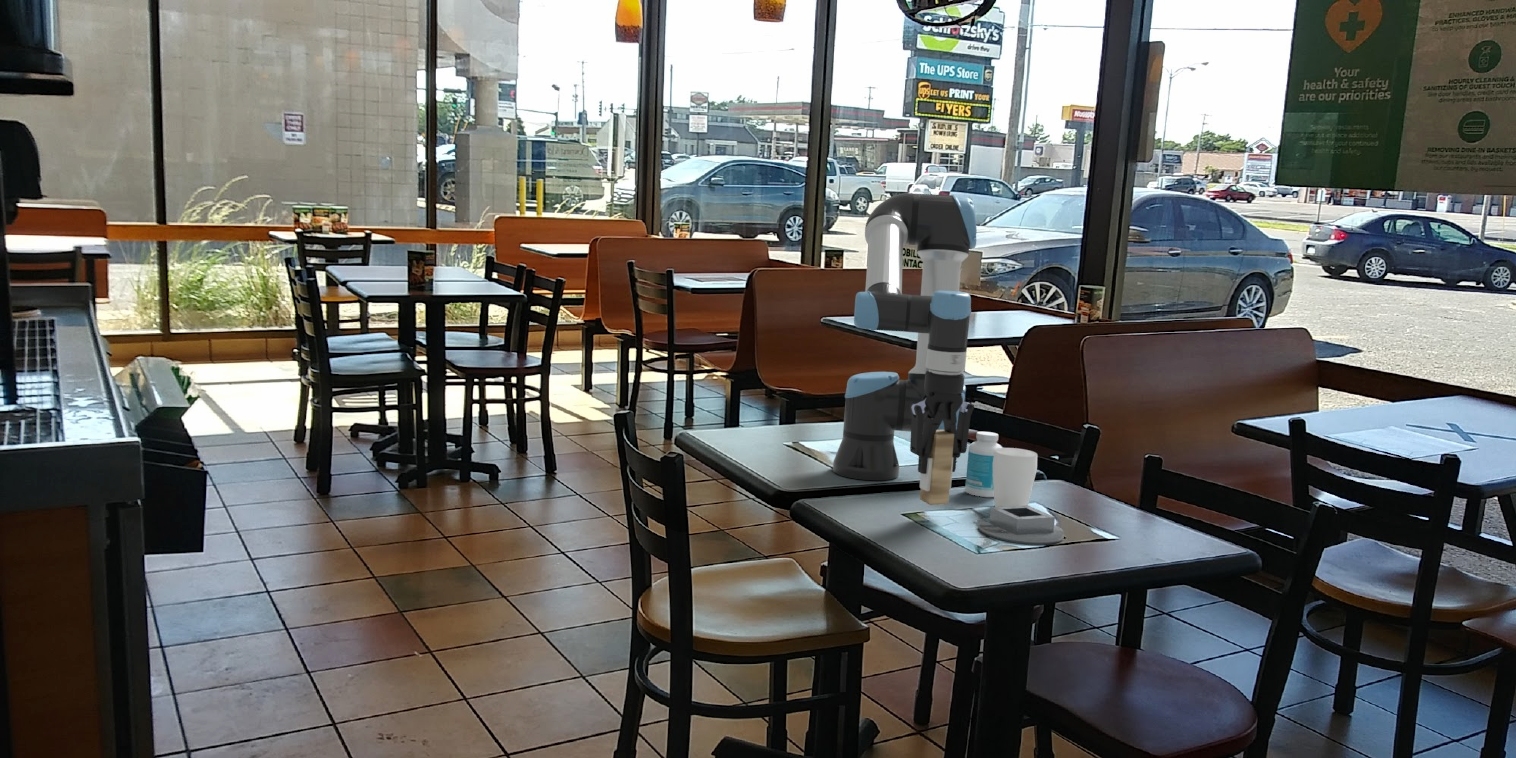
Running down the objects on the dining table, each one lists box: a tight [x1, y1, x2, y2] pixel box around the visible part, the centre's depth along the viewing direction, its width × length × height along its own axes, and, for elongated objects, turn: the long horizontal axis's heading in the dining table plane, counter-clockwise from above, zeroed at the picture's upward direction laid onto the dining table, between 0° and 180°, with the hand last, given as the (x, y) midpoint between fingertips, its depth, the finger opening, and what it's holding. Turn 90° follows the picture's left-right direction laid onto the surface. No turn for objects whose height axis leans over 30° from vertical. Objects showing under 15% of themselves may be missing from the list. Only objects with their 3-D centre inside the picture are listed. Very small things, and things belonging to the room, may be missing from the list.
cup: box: [993, 447, 1038, 507], centre depth 237 cm, size 9×9×12 cm
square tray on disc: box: [978, 504, 1065, 546], centre depth 219 cm, size 16×16×4 cm
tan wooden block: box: [919, 430, 954, 506], centre depth 223 cm, size 4×4×14 cm
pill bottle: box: [964, 431, 1003, 498], centre depth 248 cm, size 8×7×14 cm
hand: (935, 488), depth 224 cm, fingers closed on tan wooden block, 4 cm apart
